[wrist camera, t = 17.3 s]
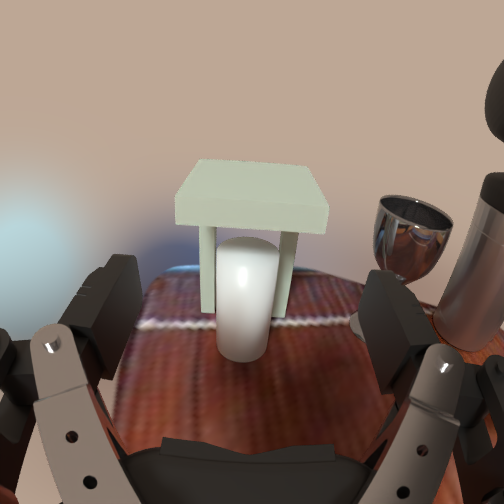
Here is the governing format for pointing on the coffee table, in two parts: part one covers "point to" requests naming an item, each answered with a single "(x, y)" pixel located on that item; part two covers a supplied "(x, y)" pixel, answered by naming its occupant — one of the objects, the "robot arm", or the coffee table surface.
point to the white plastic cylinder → (245, 296)
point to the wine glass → (407, 240)
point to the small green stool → (250, 213)
